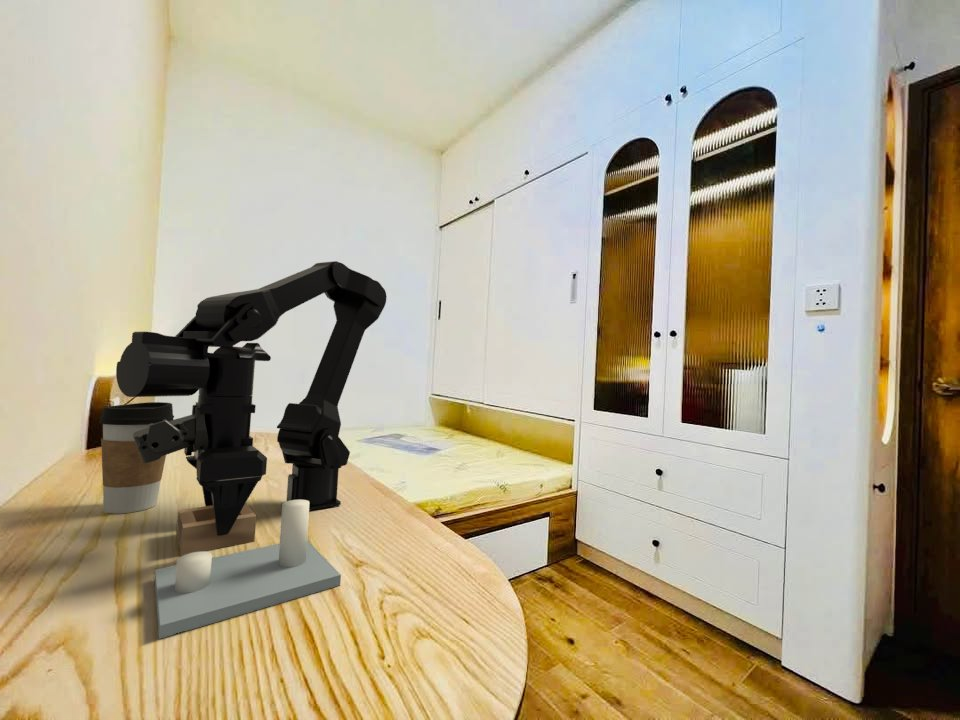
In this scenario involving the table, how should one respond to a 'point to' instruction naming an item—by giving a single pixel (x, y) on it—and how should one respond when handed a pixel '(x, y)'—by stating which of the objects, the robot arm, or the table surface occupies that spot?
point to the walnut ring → (212, 530)
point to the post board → (242, 578)
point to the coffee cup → (130, 457)
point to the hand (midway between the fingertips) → (216, 522)
